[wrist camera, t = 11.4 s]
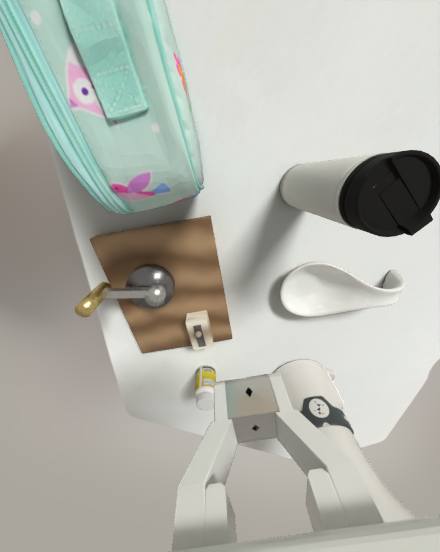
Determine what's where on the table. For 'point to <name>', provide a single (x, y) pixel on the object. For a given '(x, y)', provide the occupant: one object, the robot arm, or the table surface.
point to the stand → (187, 275)
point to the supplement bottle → (205, 387)
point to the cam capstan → (134, 290)
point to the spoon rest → (335, 290)
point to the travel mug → (368, 191)
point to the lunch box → (109, 96)
